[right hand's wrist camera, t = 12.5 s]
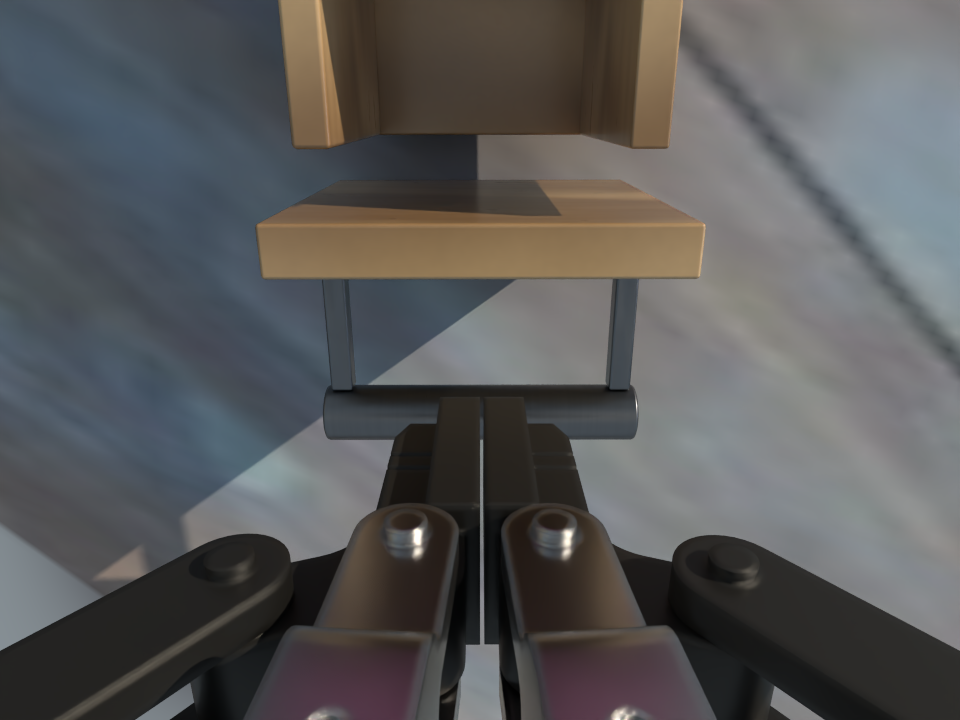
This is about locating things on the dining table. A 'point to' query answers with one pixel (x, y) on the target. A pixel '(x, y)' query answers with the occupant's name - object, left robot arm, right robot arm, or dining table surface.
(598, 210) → the drawer
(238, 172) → the dining table surface
